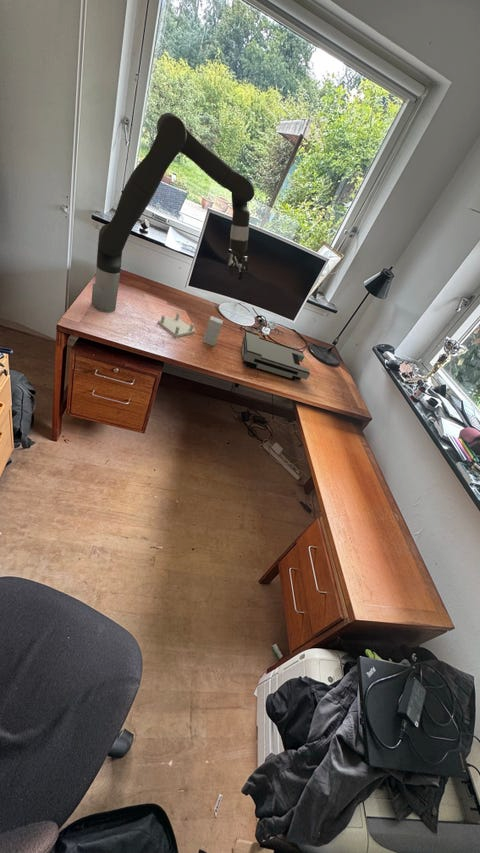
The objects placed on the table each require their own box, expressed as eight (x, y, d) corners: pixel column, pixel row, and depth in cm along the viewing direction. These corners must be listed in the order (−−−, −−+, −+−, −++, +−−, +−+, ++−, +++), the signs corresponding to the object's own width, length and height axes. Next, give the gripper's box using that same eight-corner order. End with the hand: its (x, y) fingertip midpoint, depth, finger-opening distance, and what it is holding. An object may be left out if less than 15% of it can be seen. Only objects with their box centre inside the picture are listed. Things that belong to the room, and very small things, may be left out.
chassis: (175, 337, 154) (178, 329, 151) (157, 323, 157) (159, 314, 155) (194, 332, 163) (196, 325, 160) (176, 319, 166) (178, 311, 164)
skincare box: (215, 342, 164) (223, 320, 156) (214, 346, 160) (222, 324, 153) (203, 338, 163) (211, 315, 155) (202, 342, 160) (209, 319, 152)
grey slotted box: (303, 385, 164) (311, 372, 159) (241, 366, 157) (247, 351, 151) (296, 362, 180) (304, 349, 175) (240, 344, 172) (245, 330, 167)
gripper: (223, 234, 147) (220, 273, 157) (240, 241, 138) (236, 283, 148) (237, 234, 150) (234, 273, 160) (255, 241, 141) (251, 282, 151)
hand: (235, 277), depth 154 cm, fingers open, 8 cm apart
